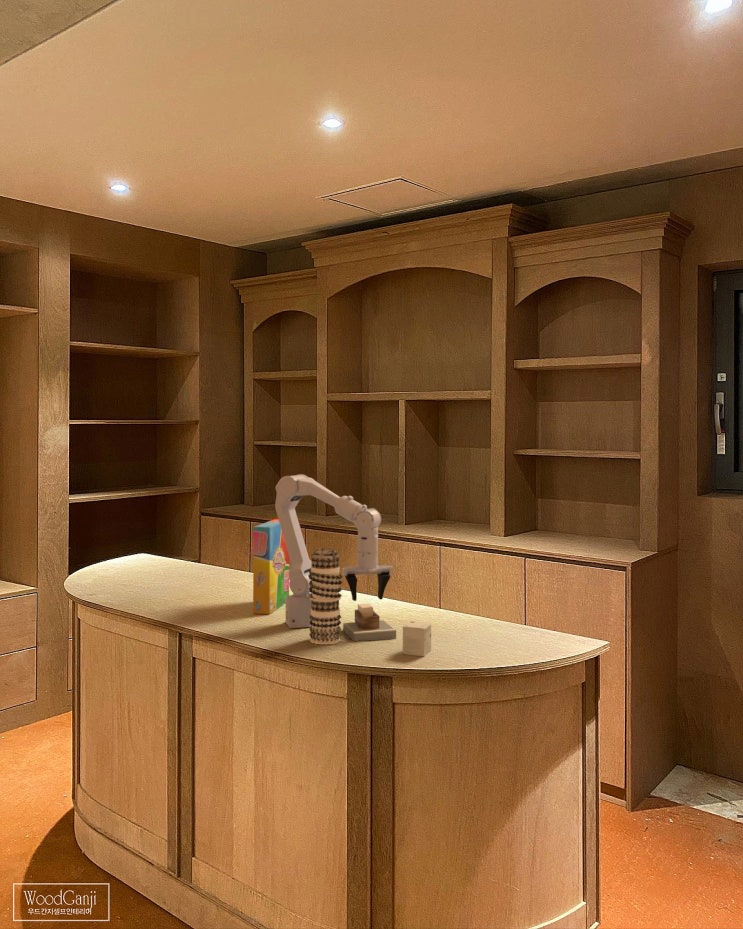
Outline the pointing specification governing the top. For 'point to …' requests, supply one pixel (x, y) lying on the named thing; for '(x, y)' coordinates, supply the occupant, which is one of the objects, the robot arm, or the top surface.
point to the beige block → (365, 610)
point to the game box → (269, 567)
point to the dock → (369, 631)
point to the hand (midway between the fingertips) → (367, 599)
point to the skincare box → (417, 638)
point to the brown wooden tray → (367, 620)
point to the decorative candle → (325, 597)
